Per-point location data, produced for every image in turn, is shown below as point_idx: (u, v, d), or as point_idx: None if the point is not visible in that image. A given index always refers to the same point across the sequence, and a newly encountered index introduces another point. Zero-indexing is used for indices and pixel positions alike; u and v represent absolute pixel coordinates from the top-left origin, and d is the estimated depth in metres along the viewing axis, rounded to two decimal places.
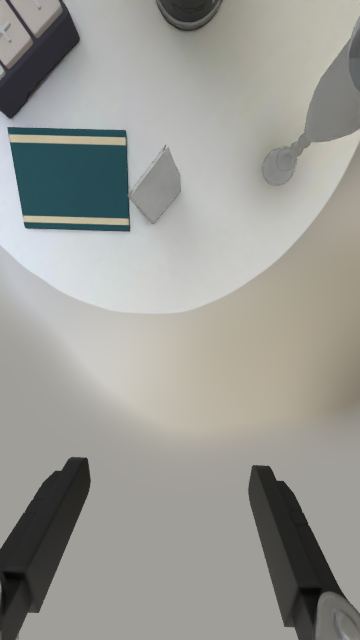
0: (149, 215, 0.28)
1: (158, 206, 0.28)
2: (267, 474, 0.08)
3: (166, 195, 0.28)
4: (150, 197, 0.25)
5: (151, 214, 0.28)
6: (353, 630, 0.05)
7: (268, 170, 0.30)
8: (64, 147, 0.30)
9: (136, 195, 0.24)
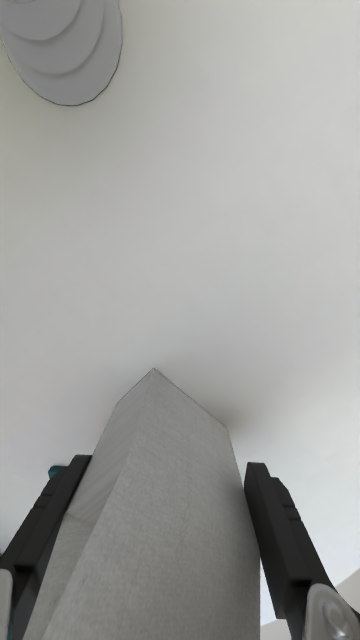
0: (249, 524, 0.08)
1: (216, 483, 0.09)
2: (262, 471, 0.09)
3: (188, 470, 0.08)
4: (219, 599, 0.06)
5: (241, 506, 0.09)
6: (341, 619, 0.05)
7: (74, 69, 0.08)
8: None
9: None
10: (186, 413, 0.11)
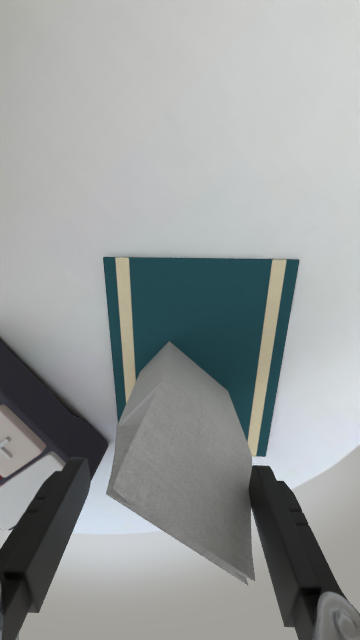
0: (244, 440, 0.12)
1: (220, 414, 0.12)
2: (267, 474, 0.08)
3: (199, 400, 0.11)
4: (223, 468, 0.09)
5: (238, 431, 0.12)
6: (353, 630, 0.05)
7: None
8: None
9: (241, 543, 0.08)
10: (196, 373, 0.14)
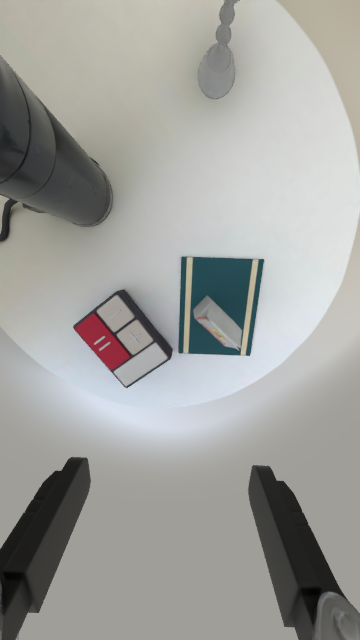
0: None
1: None
2: (267, 474, 0.08)
3: None
4: (232, 328, 0.29)
5: None
6: (353, 630, 0.05)
7: (221, 87, 0.26)
8: (192, 311, 0.36)
9: (237, 342, 0.27)
10: (219, 307, 0.34)
